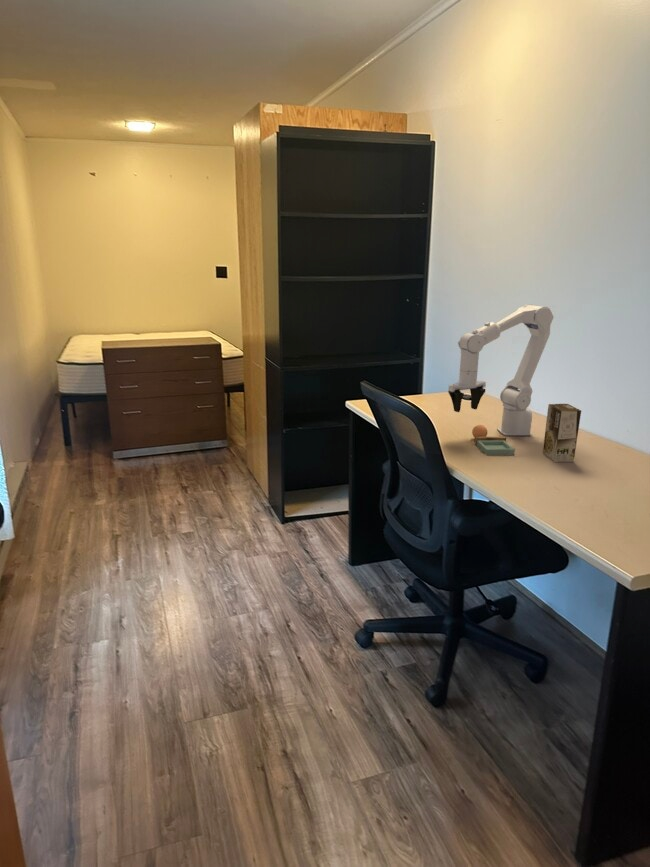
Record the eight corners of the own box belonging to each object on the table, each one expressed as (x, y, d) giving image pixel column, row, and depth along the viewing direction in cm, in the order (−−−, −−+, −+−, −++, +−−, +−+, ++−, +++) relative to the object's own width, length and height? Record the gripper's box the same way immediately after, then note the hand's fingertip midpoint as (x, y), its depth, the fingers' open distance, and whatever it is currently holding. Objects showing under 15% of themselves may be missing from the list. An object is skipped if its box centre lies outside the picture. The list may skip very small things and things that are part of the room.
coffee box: (574, 462, 179) (582, 410, 175) (554, 462, 179) (561, 410, 174) (561, 452, 188) (568, 403, 183) (541, 452, 188) (548, 403, 183)
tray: (503, 445, 194) (504, 440, 193) (514, 454, 185) (514, 449, 184) (476, 445, 193) (477, 440, 192) (485, 454, 184) (486, 449, 184)
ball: (483, 437, 202) (485, 423, 201) (488, 441, 198) (490, 427, 196) (469, 437, 202) (470, 423, 201) (474, 441, 197) (475, 427, 196)
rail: (504, 443, 196) (505, 436, 195) (505, 444, 194) (506, 437, 194) (474, 443, 195) (475, 436, 194) (476, 445, 194) (476, 437, 193)
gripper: (476, 366, 202) (473, 405, 206) (443, 370, 195) (440, 410, 199) (491, 370, 196) (487, 409, 200) (458, 374, 189) (454, 414, 193)
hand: (465, 410), depth 199 cm, fingers open, 7 cm apart
